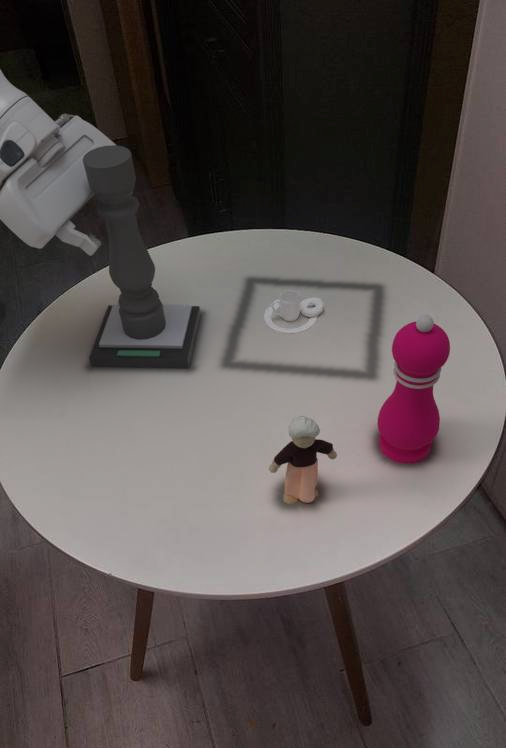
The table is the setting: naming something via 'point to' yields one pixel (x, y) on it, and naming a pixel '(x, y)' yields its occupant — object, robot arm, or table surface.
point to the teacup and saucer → (294, 310)
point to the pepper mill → (413, 392)
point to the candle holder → (125, 240)
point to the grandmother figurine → (302, 460)
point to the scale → (147, 341)
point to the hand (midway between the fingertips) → (114, 229)
